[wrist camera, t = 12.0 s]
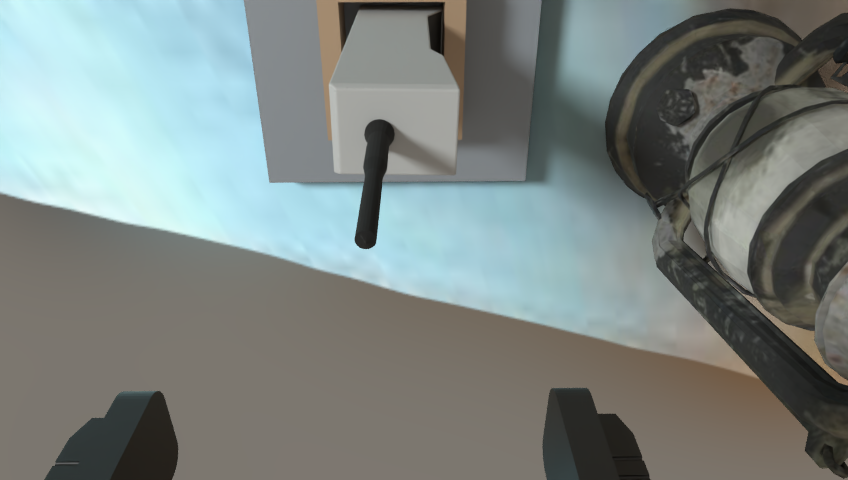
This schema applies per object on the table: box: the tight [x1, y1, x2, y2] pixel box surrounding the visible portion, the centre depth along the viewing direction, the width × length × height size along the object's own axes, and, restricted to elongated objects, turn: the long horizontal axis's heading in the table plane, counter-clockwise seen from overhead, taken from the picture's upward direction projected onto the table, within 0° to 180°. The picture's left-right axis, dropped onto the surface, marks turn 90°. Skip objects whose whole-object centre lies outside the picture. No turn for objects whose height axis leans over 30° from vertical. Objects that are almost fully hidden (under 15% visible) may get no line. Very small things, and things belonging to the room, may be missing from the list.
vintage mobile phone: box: [329, 5, 460, 249], centre depth 28 cm, size 4×5×25 cm
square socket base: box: [244, 0, 542, 183], centre depth 39 cm, size 18×18×5 cm
